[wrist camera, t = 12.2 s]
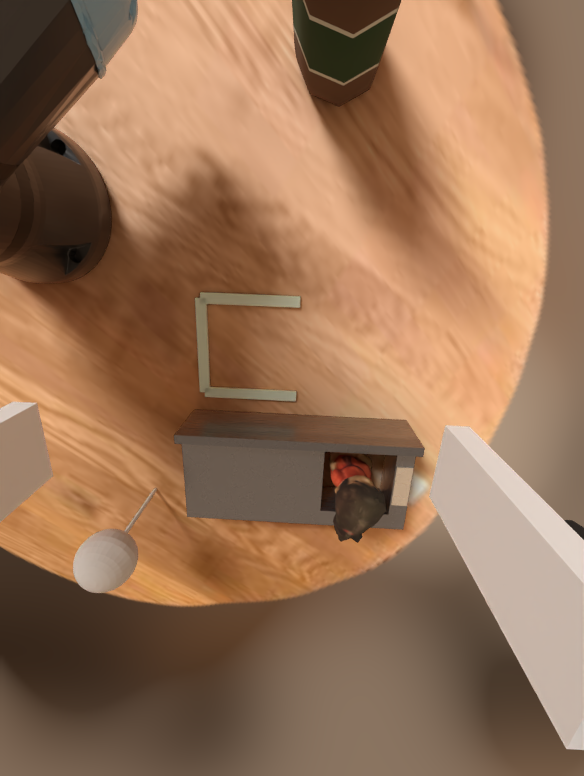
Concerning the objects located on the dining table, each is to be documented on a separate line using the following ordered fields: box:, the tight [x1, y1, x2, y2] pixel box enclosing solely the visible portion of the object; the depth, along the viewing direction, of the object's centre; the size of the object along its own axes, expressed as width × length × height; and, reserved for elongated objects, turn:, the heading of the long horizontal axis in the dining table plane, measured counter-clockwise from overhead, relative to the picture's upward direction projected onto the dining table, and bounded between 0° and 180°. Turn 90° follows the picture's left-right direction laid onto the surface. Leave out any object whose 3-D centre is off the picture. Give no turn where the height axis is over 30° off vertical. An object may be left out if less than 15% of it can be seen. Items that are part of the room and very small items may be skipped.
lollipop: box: [73, 488, 157, 593], centre depth 40 cm, size 6×6×15 cm
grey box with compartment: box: [174, 410, 425, 529], centre depth 41 cm, size 26×12×7 cm, turn 88°
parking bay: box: [195, 292, 301, 401], centre depth 40 cm, size 12×12×1 cm
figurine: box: [329, 452, 386, 543], centre depth 39 cm, size 6×6×12 cm
